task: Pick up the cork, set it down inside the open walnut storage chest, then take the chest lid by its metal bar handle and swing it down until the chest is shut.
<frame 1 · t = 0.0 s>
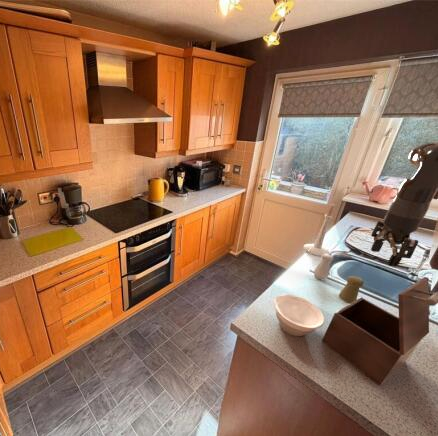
hand: (382, 257, 76), 31 cm above the worktop, tool pointing down, fingers open, 8 cm apart
salt shaker: (319, 277, 115), on the worktop
candlestick: (316, 250, 137), on the worktop
lid: (426, 317, 63), point 23 cm above the worktop, hinge at 70.0°
bowl: (291, 326, 88), on the worktop
chest: (361, 351, 79), on the worktop
cork: (347, 298, 102), on the worktop
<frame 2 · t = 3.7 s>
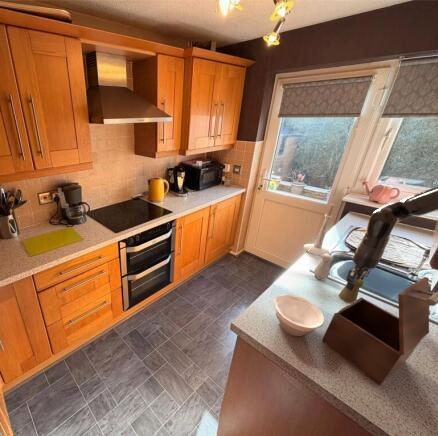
hand: (352, 286, 99), 6 cm above the worktop, tool pointing down, fingers closed on cork, 5 cm apart
cork: (347, 298, 102), on the worktop, touching gripper
everything else where it was.
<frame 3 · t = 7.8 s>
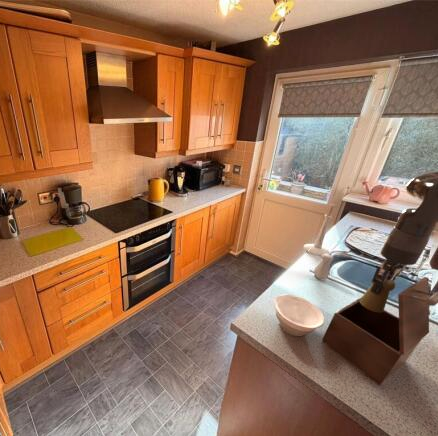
hand: (379, 290, 73), 23 cm above the worktop, tool pointing down, fingers closed on cork, 5 cm apart
cork: (371, 305, 76), point 17 cm above the worktop, touching gripper
everything else where it was.
when the fingers open (7 cm above the worktop, at t = 11.9 s): cork stays where it is, resting on chest.
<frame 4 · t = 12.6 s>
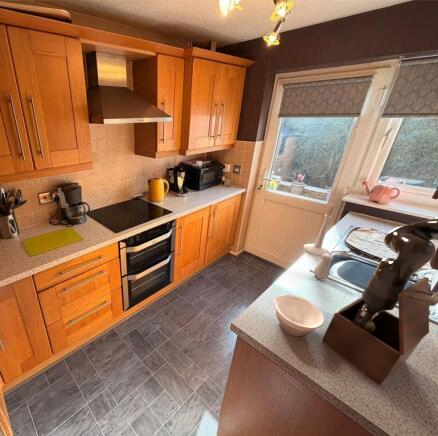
hand: (362, 327, 78), 9 cm above the worktop, tool pointing down, fingers open, 8 cm apart
cork: (353, 343, 81), point 1 cm above the worktop, touching chest
everything else where it was.
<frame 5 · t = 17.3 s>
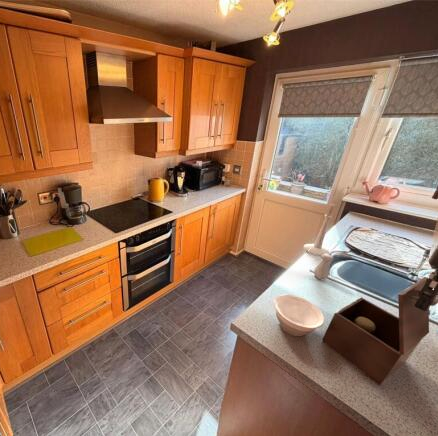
hand: (425, 304, 63), 27 cm above the worktop, tool pointing down, fingers closed on lid, 6 cm apart
lid: (426, 317, 63), point 23 cm above the worktop, hinge at 70.0°, touching gripper
everything else where it was.
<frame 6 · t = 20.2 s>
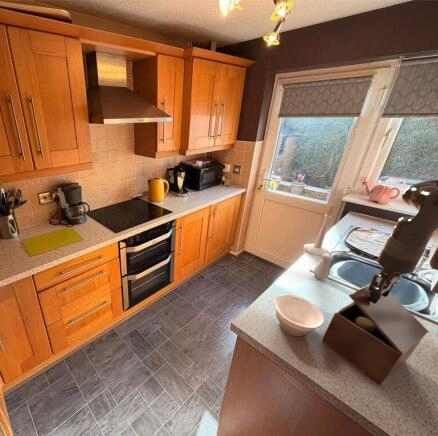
hand: (377, 298, 73), 21 cm above the worktop, tool pointing down, fingers closed on lid, 6 cm apart
lid: (394, 310, 69), point 20 cm above the worktop, hinge at 29.2°, touching gripper
everything else where it was.
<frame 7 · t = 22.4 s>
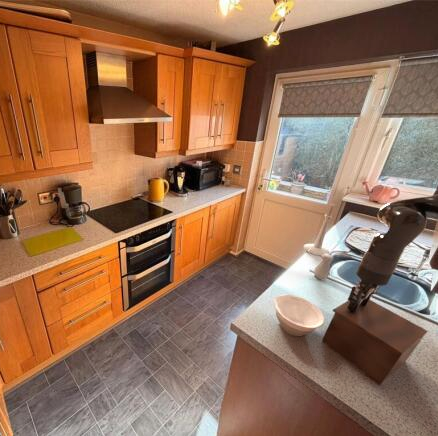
hand: (356, 306, 78), 15 cm above the worktop, tool pointing down, fingers closed on lid, 6 cm apart
lid: (380, 315, 73), point 16 cm above the worktop, hinge at -0.2°, touching chest, gripper
everything else where it was.
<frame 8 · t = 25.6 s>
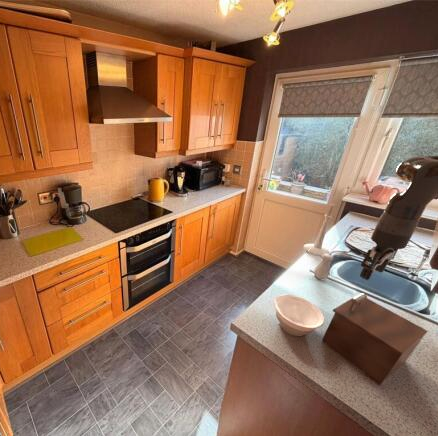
hand: (371, 274, 73), 28 cm above the worktop, tool pointing down, fingers open, 8 cm apart
lid: (380, 315, 73), point 16 cm above the worktop, hinge at -0.2°, touching chest
everything else where it was.
at the end: cork inside the target area in the chest (2.5 cm from its centre), point 0.6 cm above the chest's base; cork tilted 0°; lid at +0° (first picture: +70°) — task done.
